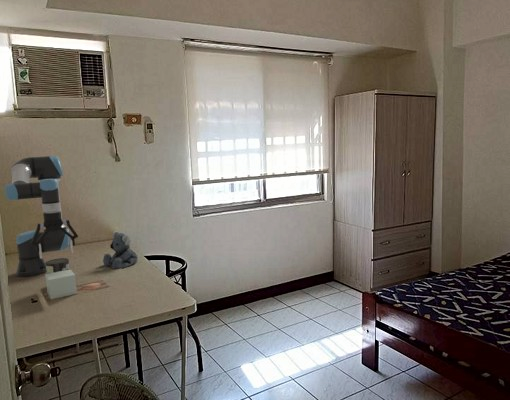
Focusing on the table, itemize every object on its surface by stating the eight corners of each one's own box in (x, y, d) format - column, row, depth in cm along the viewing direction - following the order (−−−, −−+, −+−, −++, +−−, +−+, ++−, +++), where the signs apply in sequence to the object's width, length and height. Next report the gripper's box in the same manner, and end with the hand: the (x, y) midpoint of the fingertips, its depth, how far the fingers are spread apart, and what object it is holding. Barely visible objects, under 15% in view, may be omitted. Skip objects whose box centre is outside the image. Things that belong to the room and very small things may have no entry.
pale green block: (47, 292, 190) (45, 274, 189) (72, 287, 197) (70, 269, 195) (50, 299, 181) (48, 280, 180) (77, 293, 188) (75, 274, 186)
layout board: (43, 295, 191) (43, 292, 190) (103, 282, 206) (102, 279, 205) (47, 304, 180) (47, 300, 180) (110, 289, 195) (109, 286, 195)
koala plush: (101, 265, 238) (98, 232, 235) (130, 258, 250) (127, 227, 248) (115, 271, 225) (112, 236, 223) (144, 263, 238) (141, 230, 235)
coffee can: (75, 284, 205) (72, 257, 203) (65, 292, 195) (62, 263, 193) (55, 285, 205) (52, 258, 203) (44, 292, 195) (41, 264, 193)
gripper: (22, 216, 182) (28, 262, 185) (81, 209, 195) (86, 251, 199) (21, 214, 188) (26, 258, 191) (78, 207, 201) (82, 248, 205)
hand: (56, 255), depth 195 cm, fingers open, 13 cm apart
